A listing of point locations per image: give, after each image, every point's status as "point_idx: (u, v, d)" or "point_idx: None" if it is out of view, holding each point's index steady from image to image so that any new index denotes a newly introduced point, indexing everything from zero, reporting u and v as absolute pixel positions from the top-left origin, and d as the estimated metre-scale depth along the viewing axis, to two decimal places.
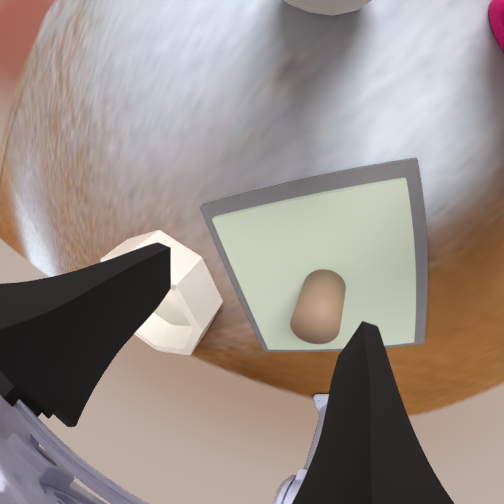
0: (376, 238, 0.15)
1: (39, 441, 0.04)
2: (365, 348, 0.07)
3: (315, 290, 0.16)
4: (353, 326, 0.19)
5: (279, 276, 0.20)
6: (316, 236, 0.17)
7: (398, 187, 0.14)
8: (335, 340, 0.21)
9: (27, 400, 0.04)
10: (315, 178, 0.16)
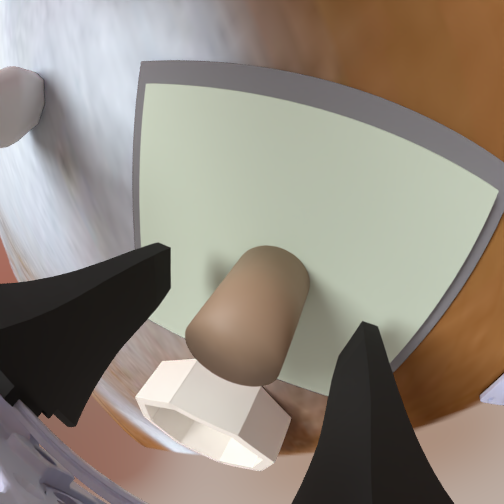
0: (210, 155, 0.09)
1: (39, 441, 0.04)
2: (365, 348, 0.07)
3: None
4: (383, 284, 0.09)
5: None
6: (185, 239, 0.11)
7: (150, 97, 0.09)
8: (394, 326, 0.10)
9: (27, 401, 0.04)
10: (133, 196, 0.12)
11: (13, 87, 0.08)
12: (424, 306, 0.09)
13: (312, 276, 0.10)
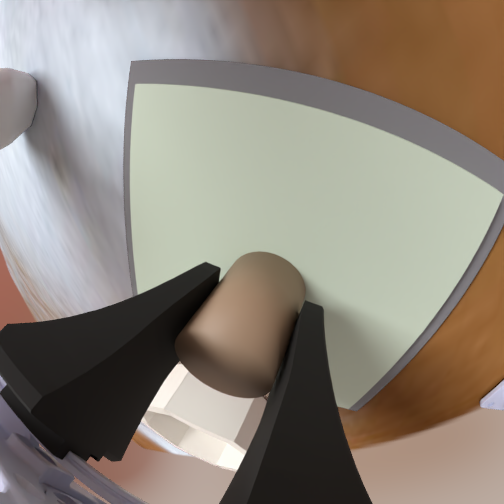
0: (201, 158, 0.09)
1: (39, 441, 0.04)
2: (299, 325, 0.07)
3: None
4: (381, 291, 0.09)
5: None
6: (177, 244, 0.11)
7: (140, 98, 0.08)
8: (393, 334, 0.09)
9: (77, 449, 0.04)
10: (125, 199, 0.12)
11: (5, 89, 0.08)
12: (424, 314, 0.08)
13: (308, 283, 0.10)
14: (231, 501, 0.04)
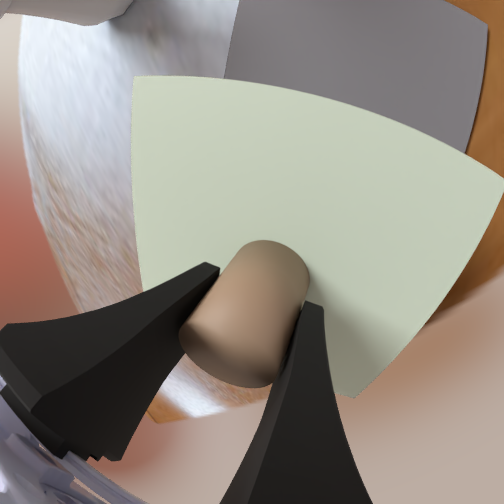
0: (202, 148, 0.09)
1: (39, 441, 0.04)
2: (299, 325, 0.07)
3: None
4: (386, 279, 0.09)
5: None
6: (180, 234, 0.11)
7: (139, 90, 0.08)
8: (398, 322, 0.09)
9: (77, 449, 0.04)
10: (232, 37, 0.13)
11: None
12: (429, 302, 0.08)
13: (312, 271, 0.10)
14: (231, 501, 0.04)
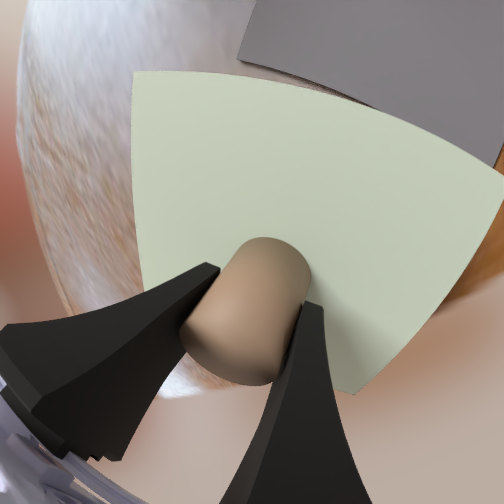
0: (203, 144, 0.08)
1: (39, 441, 0.04)
2: (299, 325, 0.07)
3: None
4: (387, 277, 0.09)
5: None
6: (181, 231, 0.11)
7: (138, 86, 0.08)
8: (399, 320, 0.09)
9: (77, 450, 0.04)
10: None
11: None
12: (430, 300, 0.08)
13: (313, 269, 0.09)
14: (231, 501, 0.04)
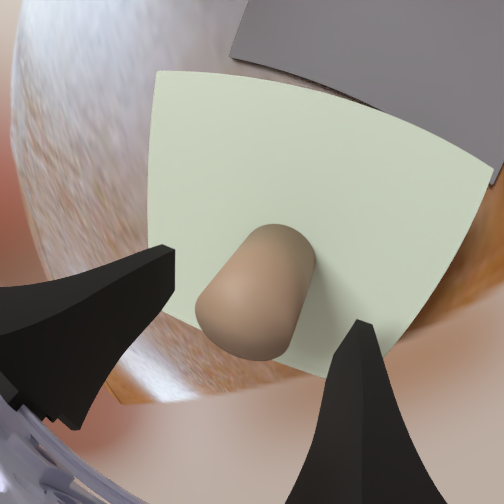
0: (220, 137, 0.09)
1: (39, 441, 0.04)
2: (359, 346, 0.07)
3: None
4: (386, 261, 0.09)
5: None
6: (193, 220, 0.12)
7: (161, 83, 0.09)
8: (399, 304, 0.10)
9: (31, 405, 0.04)
10: None
11: None
12: (426, 283, 0.09)
13: (318, 254, 0.10)
14: None
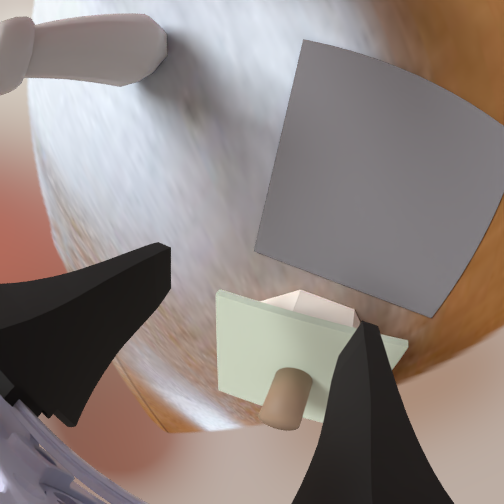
0: (260, 334, 0.18)
1: (39, 441, 0.04)
2: (365, 348, 0.07)
3: (265, 397, 0.18)
4: None
5: None
6: (246, 361, 0.20)
7: (220, 302, 0.18)
8: None
9: (27, 400, 0.04)
10: (282, 135, 0.15)
11: (151, 29, 0.12)
12: None
13: (313, 378, 0.19)
14: None
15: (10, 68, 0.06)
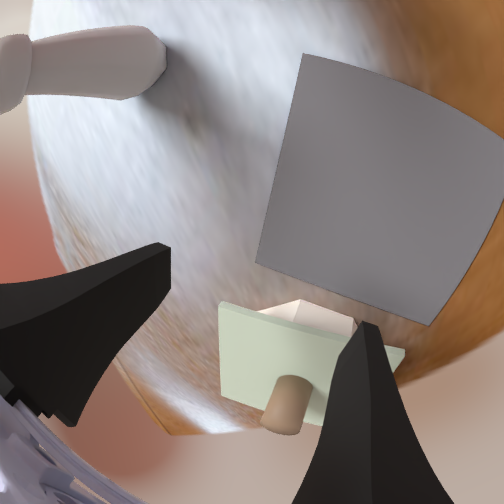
0: (261, 344, 0.19)
1: (39, 441, 0.04)
2: (365, 348, 0.07)
3: (267, 403, 0.18)
4: None
5: None
6: (248, 369, 0.21)
7: (222, 313, 0.18)
8: None
9: (27, 400, 0.04)
10: (282, 150, 0.16)
11: (150, 43, 0.12)
12: None
13: (313, 385, 0.19)
14: None
15: (9, 88, 0.06)
